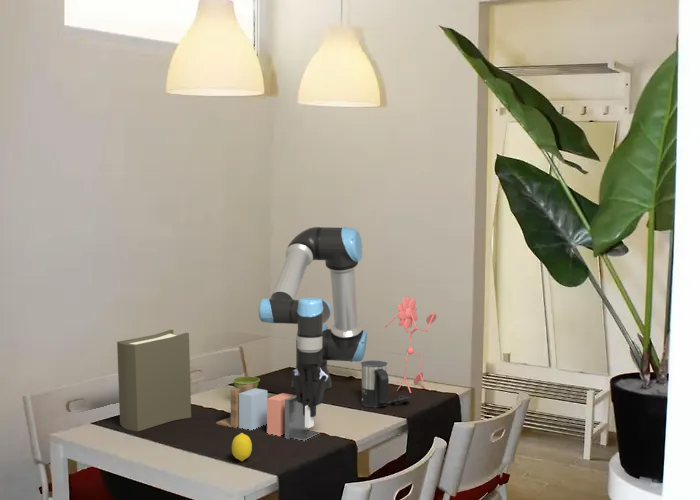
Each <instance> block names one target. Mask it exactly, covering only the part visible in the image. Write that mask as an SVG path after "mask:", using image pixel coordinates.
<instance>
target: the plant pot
mask: <svg viewBox="0 0 700 500" xmlns="http://www.w3.org/2000/svg"><path fill="white" fill-rule="evenodd" d="M260 381H261V378H259V377H257V376H239V377H236V378H235V377H234V378H233V379H232V382H233V385H234V388H238V387H241V386H244V385H247V384H250V383H252V384H256V388H257V389H258V386H259V383H260Z"/></svg>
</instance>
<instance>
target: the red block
mask: <svg viewBox="0 0 700 500" xmlns="http://www.w3.org/2000/svg"><path fill="white" fill-rule="evenodd" d="M293 396H296V394H295V395H294V394H290V393H285V392H282V393H279V394H277V395H273V396H271V397H267V425H266V434H267V433H268V434H267V435H271V434H273V435H272V436H275V435H277V436H276V437H282V436H281V435H283V434H285V399H287V398H290V397H293ZM283 436H284V435H283Z"/></svg>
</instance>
